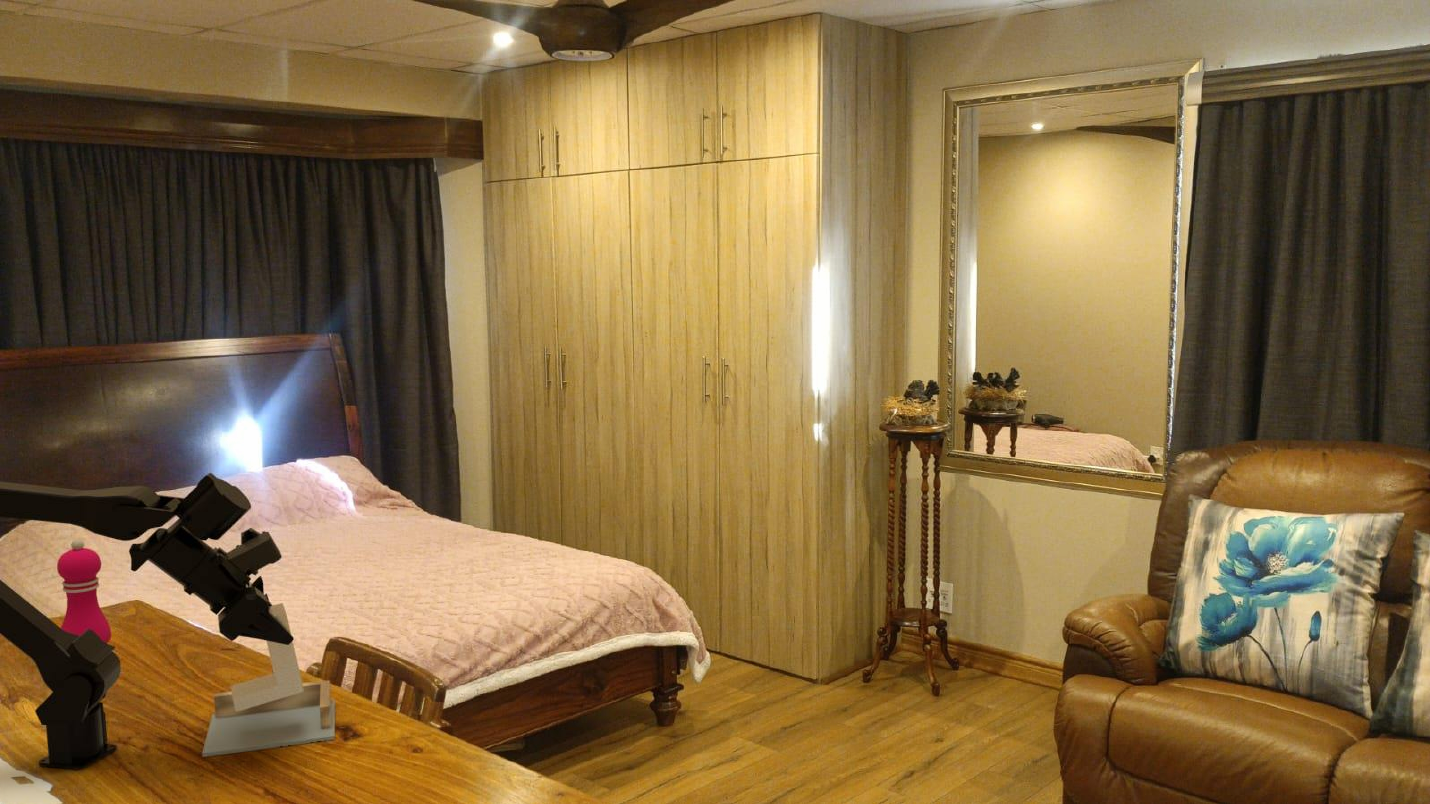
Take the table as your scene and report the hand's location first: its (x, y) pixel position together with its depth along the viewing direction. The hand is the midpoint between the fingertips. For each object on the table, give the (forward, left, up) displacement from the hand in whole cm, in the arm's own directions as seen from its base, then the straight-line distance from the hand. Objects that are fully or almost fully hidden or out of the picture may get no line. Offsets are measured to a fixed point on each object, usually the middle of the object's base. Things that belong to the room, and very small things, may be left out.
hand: (289, 635), depth 154 cm
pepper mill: (+17, +47, -13) cm, 52 cm away
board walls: (+1, +4, -13) cm, 14 cm away
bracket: (-2, +2, -8) cm, 8 cm away
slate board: (0, +4, -13) cm, 14 cm away
